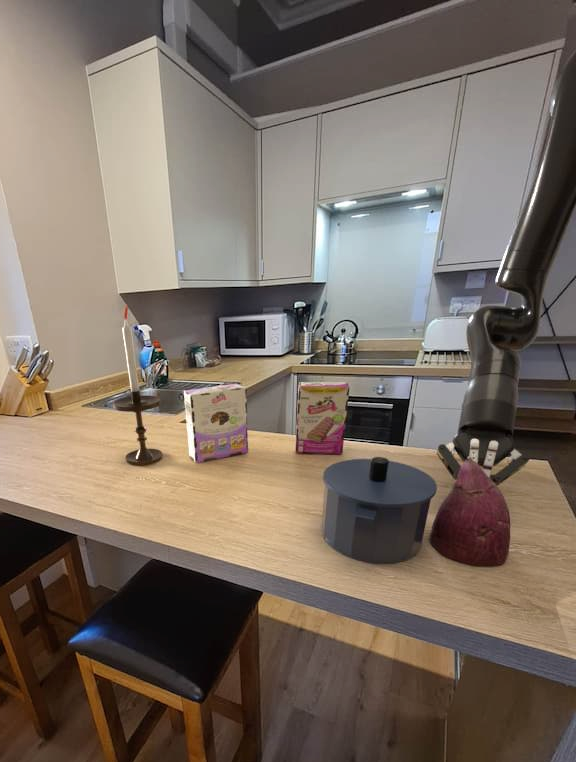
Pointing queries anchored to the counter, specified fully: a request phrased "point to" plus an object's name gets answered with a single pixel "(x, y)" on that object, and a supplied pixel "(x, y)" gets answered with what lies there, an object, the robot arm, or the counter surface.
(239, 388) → the candy box
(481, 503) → the vegetable
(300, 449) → the candy bar box
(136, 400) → the candlestick
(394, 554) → the pot
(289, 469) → the counter surface
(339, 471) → the pot lid
